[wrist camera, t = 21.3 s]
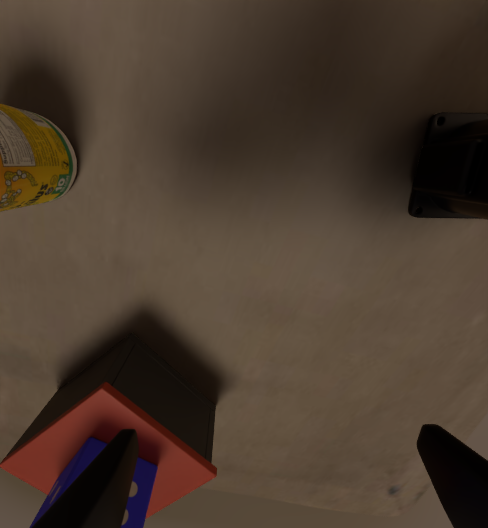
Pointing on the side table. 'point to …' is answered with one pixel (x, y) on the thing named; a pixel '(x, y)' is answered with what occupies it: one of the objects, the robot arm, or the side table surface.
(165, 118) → the side table surface
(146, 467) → the die
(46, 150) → the supplement bottle
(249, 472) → the side table surface
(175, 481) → the lid
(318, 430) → the side table surface
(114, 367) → the fryer box
